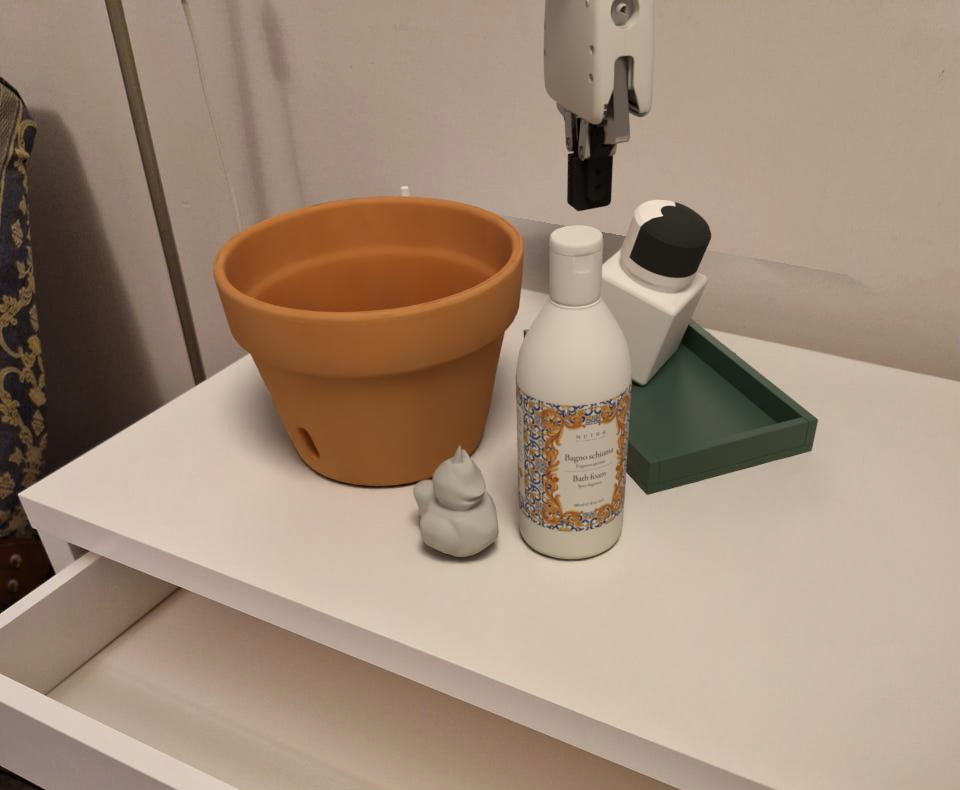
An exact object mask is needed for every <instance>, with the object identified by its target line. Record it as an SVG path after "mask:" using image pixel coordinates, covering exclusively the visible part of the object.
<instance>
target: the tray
mask: <svg viewBox="0 0 960 790" xmlns="http://www.w3.org/2000/svg"><path fill="white" fill-rule="evenodd" d="M528 330H529V328H527V329H523V339H524V338H525V336H526V333H527V332H528ZM818 423H819V419H818V418H817V417H816V416H814V414H812V413H810V411H808V410H807V409H806V408H804V407H803V406H802V405H801V404H799V403H798V402H797V401H796V400H795V399H793V398H792V397H791V396H789V395H788V393H786V392H785V391H783V390H782V389H781V388H779V387H778V386H777V385H776V384H774V383H773V382H772V381H770V380H769V379H768V378H766V377H765V376H764V375H763V374H762V373H761V372H759V370H756V369H755V368H754V367H753V366H752V365H750V364H749V363H748V362H746V361H745V360H744V359H743V358H742V357H741V356H739V355H737V354H736V352H734V351H732V350H731V348H729V347H728V346H726V345H725V344H724V343H722V342H721V341H720V340H719V339H718V338H716V337H715V336H714V335H713V334H711V333H710V332H709V331H707V330H706V329H705V328H704V327H703V326H701V324H699V323H698V322H696V321H695V320H694V319H693V318H691V320H690V322H689V324H688V327H687V329H686V331H685V333H684V336H683V338H682V340H681V342H680V345H679V347H678V349H677V350H676V351H675V353H674V354H673V355H672V356H671V357H670V358H669V359H668V360H667V361H666V363H665V364H664V365H663V366H662V367H661V368H660V369H659V370H658V371H657V372H656V374H655V375H654V376H653V377H652V378H651V379H650V380H649V381H648V382H647V383H646V385H643V386H641V385H639V384H637V383H636V382H634V381H632V388H631V404H630V419H629V435H628V451H627V467H626V473H627V474H628V475H629V476H630V477H631V478H632V479H633V480H634V481H635V482H636V484H637V485H638V486H639V487H640V488H641V490H643V492H644V493H646V495H649V494H653V493H657V492H662V491H665V490H669V489H672V488H677V487H680V486H683V485H684V486H685V485H687V484H690V483H694V482H698V481H702V480H703V481H704V480H706V479H710V478H714V477H717V476H721V475H725V474H729V473H732V472H737V471H741V470H743V469H747V468H751V467H754V466H758V465H762V464H766V463H769V462H773V461H776V460H777V461H778V460H781V459H784V458H788V457H792V456H795V455H799V454H803V453H806V452H810V451H812V450H813V447H814V442H815V438H816V433H817V428H818Z"/></svg>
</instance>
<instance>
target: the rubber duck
mask: <svg viewBox="0 0 960 790" xmlns="http://www.w3.org/2000/svg"><path fill="white" fill-rule="evenodd" d="M431 478H432V479H424V480H420V481H417V482H416V484H415V485H414V486H413V488H412V492H413V494H412V495H413V497H414V499H415V501H416V505H417V508H418V515H419V517H420V520H419V532H420V537H421V539H422V541H423V542H424V544H425V545H427V546H429V547H431V548H432V549H435V550H436V551H438V552H440V553H443V554H448V555H450V556H453V557H457V558H466V557H470V556H473V555H476V554H478V553H480V552H482V551H483V550H485V549H486V548H488V547H489V546H490V545H491V544H493V543H494V542H495V541H496V540H497V539H498V537H499V530H500V529H499V520H498V515H497V514H498V513H497V508H496V504H495V501H494V499H493V497H492V496H491V494H490V493H489V492H488V491H486V482H485V479H484V476H483V474H482V471H481V469H480V467H479V466H478V465H477V464H476V462H475V461H474V460H473V459H472V458H471V457H470V455H468V454H467V452H466V451H465V450H464V449H463V450H461V446H459V447H458V449H457V451H456V453H455V455H454V457H452V458H450V459H447V460H446V461H444V462H443V463H441V464H440V465H439V467H438V468H437V469H436V470H435V472H434V474H433V477H431Z"/></svg>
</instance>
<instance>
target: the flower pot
mask: <svg viewBox="0 0 960 790" xmlns="http://www.w3.org/2000/svg"><path fill="white" fill-rule="evenodd" d="M524 249H525V248H524V241H523V238H522V235H521V233H520V232H519V230H518V229H517V227H515V226H514V225H513V224H512V223H511V222H510V221H508V220H507V219H506V218H504V217H502V216H500V215H498V214H496V213H494V212H492V211H489V210H488V209H484V208H482V207H479V206H475V205H472V204H468V203H464V202H460V201H455V200H449V199H441V198H433V197H421V196H411V197H400V195H397V196H395V195H393V196H392V195H391V196H390V195H388V196H386V195H385V196H383V195H381V196H368V197H356V198H354V197H353V198H348V199H347V198H346V199H339V200H332V201H326V202H320V203H317V204H311V205H307V206H303V207H300V208H296V209H292V210H289V211H286V212H284V213H280V214H278V215H274V216H272V217H270V218H267V219H265V220H262V221H260V222H257V223H255V224H253V225H251V226H249V227H247V228H245V229H243V230H242V231H240V232H238V233H236V234H235V235H234V236H232V237H230V238H229V239H228V240H227V241H226V242H225V243H224V244H223V245H222V246H221V247H220V249H219V250H218V252H217V253H216V255H215V257H214V259H213V263H212V273H213V279H214V283H215V285H216V289H217V292H218V296H219V299H220V302H221V305H222V309H223V312H224V316H225V318H226V322H227V324H228V328H229V332H230V334H231V336H232V337H233V339H234V340H235V342H236V343H237V345H238V346H240V347H241V348H242V350H243V351H245V352H247V353H248V354H250V356H251V358H252V360H253V363H254V364H255V366H256V369H257V371H258V373H259V375H260V377H261V379H262V381H263V384H264V386H265V388H266V389H267V392H268V394H269V397H270V398H271V400H272V402H273V404H274V406H275V408H276V411H277V413H278V415H279V417H280V419H281V421H282V424H283V425H284V428H285V430H286V432H287V434H288V436H289V437H290V440H291V441H292V444H294V448H295V449H296V451H297V453H298V455H299V456H300V458H301V459H302V460H303V462H304V463H305V464H306V465H308V467H310V468H311V469H312V470H314V471H315V472H317V473H318V474H320V475H323V476H324V477H327V478H329V479H331V480H333V481H334V480H335V481H338V482H343V483H346V484H351V485H352V484H353V485H359V486H369V487H371V486H372V487H373V486H374V487H384V486H385V487H386V486H399V485H404V484H411V483H415V482H416V483H417V482H420V481H423V480H429V479H431V478H433V474H434V472H435V470H436V469H437V468H438V467H439V465H440V464H441V463H443V462H444V461H446V460H447V459H450V458H452V457H454V455H455V453H456V451H457V449H458V447H459V446H461V450H463V449H464V450H465V451H466V452H467V454H468V455H469V456H470V455H472V454H473V452H474V451H475V450H476V449H477V447H478V445H479V444H480V441H481V439H482V436H483V433H484V430H485V427H486V425H487V422H488V417H489V412H490V408H491V403H492V398H493V394H494V388H495V382H496V378H497V371H498V366H499V362H500V356H501V352H502V347H503V341H504V337H505V335H506V331H507V330H508V329H509V328H510V327H511V325H512V324H513V323H514V322H515V319H516V317H517V315H518V312H519V309H520V304H521V303H520V302H521V294H522V286H523V272H524V253H525V252H524Z"/></svg>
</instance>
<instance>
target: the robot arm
mask: <svg viewBox="0 0 960 790" xmlns="http://www.w3.org/2000/svg"><path fill="white" fill-rule="evenodd" d="M544 2H545V3H544V19H543V21H544V22H543V79H544V88H545V91H546V93H547V95H548V96H549V98H551V99H552V100H553V101H554V102H556V108H557V110H558V112H559V113H560V115H561V116H562V117H563V121H564V134H565V146H566V150H567V152H568V153H567V179H566V180H567V184H566V185H567V186H566V189H567V191H566V203H567V204H568V205H569V206H570V207H572V208H573V209H574V210H576V211H577V212H583V211H587V210H593V209H600V208H603V207H608V206H610V205H611V203H612V193H613V192H612V189H613V168H614V167H613V166H614V156H615V155H616V153H617V148H618V147H617V146H618V144H622V143H623V144H624V143H628V142H629V141H630V138H631V127H630V125H631V124H630V114H631V115H633V116H635V117H636V118H644V117H647V116H648V115H649V113H650V112H651V110H652V103H653V93H654V92H653V89H654V63H655V62H654V59H655V57H654V56H655V12H654V11H655V10H654V7H655V6H654V5H655V4H654V0H545V1H544Z"/></svg>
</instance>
